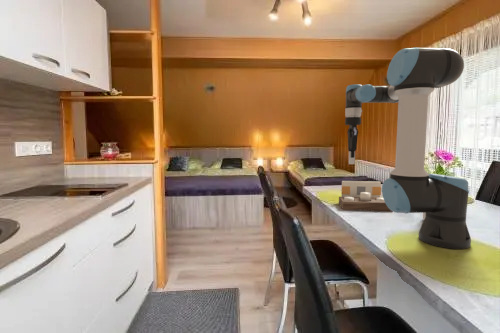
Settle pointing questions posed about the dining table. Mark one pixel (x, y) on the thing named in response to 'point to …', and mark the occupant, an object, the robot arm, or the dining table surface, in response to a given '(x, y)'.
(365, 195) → the button
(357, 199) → the button board
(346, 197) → the button
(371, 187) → the pattern card
